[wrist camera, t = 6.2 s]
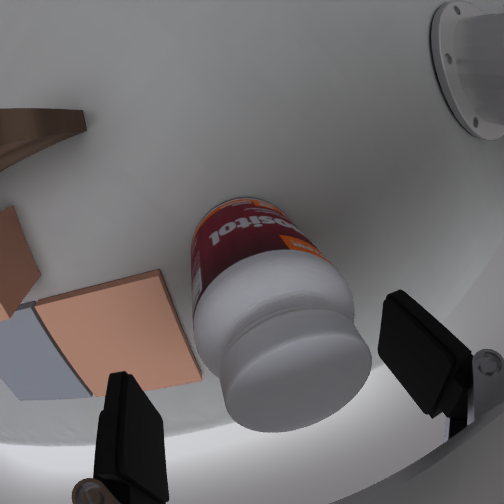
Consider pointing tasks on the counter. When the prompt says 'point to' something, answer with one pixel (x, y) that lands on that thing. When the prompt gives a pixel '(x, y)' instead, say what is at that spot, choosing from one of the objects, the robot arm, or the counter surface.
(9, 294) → the terracotta cube
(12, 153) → the walnut wall
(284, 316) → the pill bottle
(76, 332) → the terracotta pad
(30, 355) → the slate pad
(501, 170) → the counter surface
